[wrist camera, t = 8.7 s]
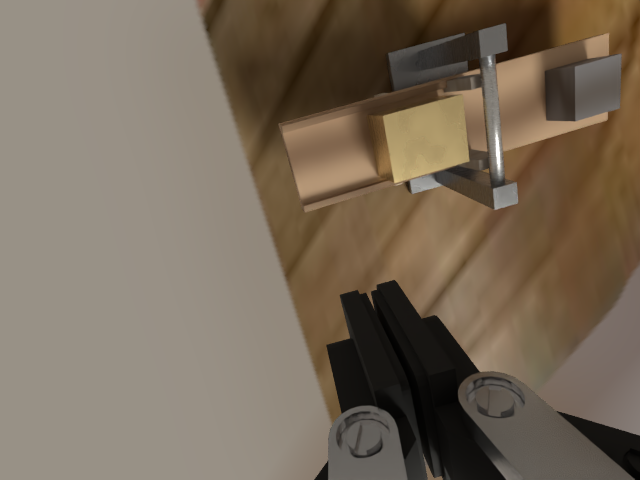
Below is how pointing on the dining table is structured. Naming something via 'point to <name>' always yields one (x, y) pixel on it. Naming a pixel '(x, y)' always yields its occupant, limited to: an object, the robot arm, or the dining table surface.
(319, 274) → the dining table surface
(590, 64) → the beam
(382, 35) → the dining table surface
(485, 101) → the stand
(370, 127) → the block
